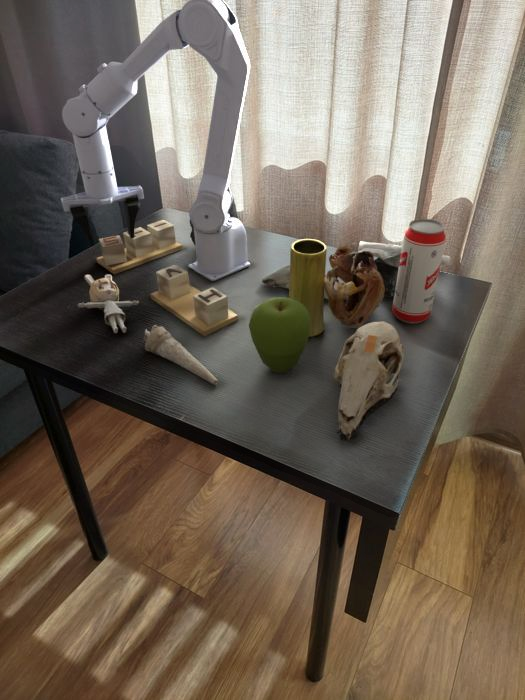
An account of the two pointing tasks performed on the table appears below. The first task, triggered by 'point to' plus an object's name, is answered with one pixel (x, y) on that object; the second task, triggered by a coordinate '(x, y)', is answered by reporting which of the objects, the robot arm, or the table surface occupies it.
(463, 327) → the table surface
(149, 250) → the board
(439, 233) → the beer can
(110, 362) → the table surface
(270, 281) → the fossil
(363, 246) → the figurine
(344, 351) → the animal skull replica
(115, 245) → the s tile
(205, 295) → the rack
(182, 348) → the seashell
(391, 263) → the rock
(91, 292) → the toy
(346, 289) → the dried fish head
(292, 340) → the apple
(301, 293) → the vase
